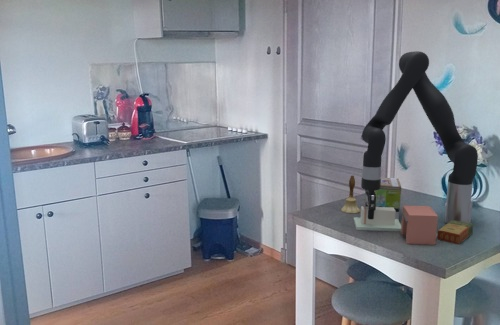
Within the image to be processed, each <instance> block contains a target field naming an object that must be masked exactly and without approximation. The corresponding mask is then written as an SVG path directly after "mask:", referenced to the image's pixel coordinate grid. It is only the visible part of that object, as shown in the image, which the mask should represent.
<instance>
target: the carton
mask: <svg viewBox="0 0 500 325" xmlns="http://www.w3.org/2000/svg"><path fill="white" fill-rule="evenodd" d="M473 228H474V224H473V223H465V222H460V221H455V220H452V221H450V222H449V223H446V224H444V226H442V227H441V228H439V229H437V235H436V240H438V241H443V242H446V243H451V244H455V245H460V244H462V243H463V242H464V241H465V240H466V239H467V238H468V237H469V236H471V235H472V234H473V230H474V229H473Z"/></svg>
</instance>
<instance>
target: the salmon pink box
mask: <svg viewBox="0 0 500 325" xmlns="http://www.w3.org/2000/svg"><path fill="white" fill-rule="evenodd" d="M401 213H402V214H401V215H402V216H401V231H400V234H401V235H403V236H405V242H406V244H408V245H430V246H432V245H436V243H437V242H436V241H437V232H438V229H437V228H438V221H439V220H438V218H439V216H438V214H437V213H436V212H435V211H434V209H432V207H431V206H429V205H406V204H405V205H402V212H401Z"/></svg>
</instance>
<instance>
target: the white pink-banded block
mask: <svg viewBox="0 0 500 325" xmlns="http://www.w3.org/2000/svg"><path fill="white" fill-rule="evenodd" d="M395 213H396V211H395V209H394V207H376V209H375V210H374V219H368V207H365V206H360V216H359V218H360V221H361V224H373V225H395Z"/></svg>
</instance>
